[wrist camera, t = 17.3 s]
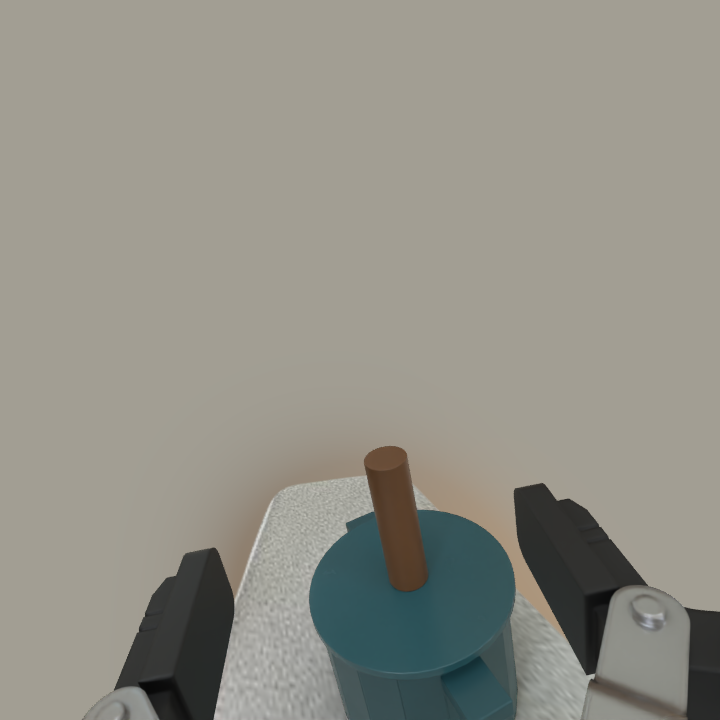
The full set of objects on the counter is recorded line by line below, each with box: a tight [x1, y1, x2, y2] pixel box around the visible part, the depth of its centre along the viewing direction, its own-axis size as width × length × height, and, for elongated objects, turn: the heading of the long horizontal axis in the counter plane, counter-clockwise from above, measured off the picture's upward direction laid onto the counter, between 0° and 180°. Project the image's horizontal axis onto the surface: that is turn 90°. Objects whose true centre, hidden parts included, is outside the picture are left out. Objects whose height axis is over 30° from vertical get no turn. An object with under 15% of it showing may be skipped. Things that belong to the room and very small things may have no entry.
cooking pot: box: [327, 512, 518, 720], centre depth 32 cm, size 11×17×10 cm
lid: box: [309, 446, 516, 680], centre depth 29 cm, size 12×12×10 cm
